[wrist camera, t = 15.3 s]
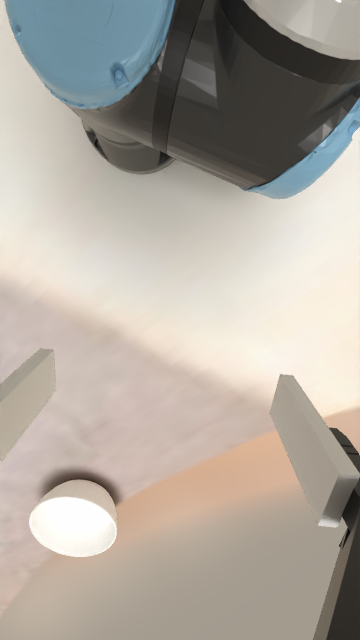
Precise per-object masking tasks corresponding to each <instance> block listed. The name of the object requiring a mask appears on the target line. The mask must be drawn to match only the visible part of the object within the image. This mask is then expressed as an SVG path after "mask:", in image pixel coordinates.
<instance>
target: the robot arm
mask: <svg viewBox="0 0 360 640" xmlns="http://www.w3.org/2000/svg"><path fill="white" fill-rule="evenodd" d="M5 6H6V11H7V15H8V19H9V22H10V26H11V29H12V32H13V33H14V36H15V39H16V41H17V43H18V45H19V47H20V49H21V51H22V53H23V55H24V56H25V58H26V60H27V61H28V63H29V64H30V66H31V67H32V68H33V70H34V71H35V72H36V74H37V75H38V76H39V78H40V80H41V81H42V82H43V83H44V84H45V86H46V88H47V89H48V90H50V91H51V93H52V94H53V95H54V96H55V97H57V98H59V99H60V100H61V101H62V102H63V103H65V104H66V105H67V106H68V107H69V108H71V109H72V110H73V111H74V112H75V113H76V114H77V115H78V116H79V117H80V118H81V120H82V123H83V126H84V129H85V131H86V134H87V136H88V138H89V140H90V141H91V143H92V145H93V146H94V147H95V149H96V150H97V151H98V152H99V153H100V155H101V156H102V157H104V158H105V159H106V160H107V161H108V162H110V163H111V164H112V165H114V166H115V167H117V168H119V169H121V170H123V171H126V172H129V173H134V174H149V173H153V172H156V171H159V170H161V169H163V168H165V167H167V166H168V165H169V164H171V163H172V162H173V161H174V160H175V159H178V160H180V161H183V162H185V163H187V164H190V165H192V166H194V167H196V168H199V169H201V170H203V171H205V172H208V173H210V174H212V175H215V176H217V177H219V178H221V179H224V180H226V181H228V182H230V183H233V184H235V185H237V186H239V187H240V188H241V189H243V190H244V191H248V192H256V193H259V194H262V195H264V196H267V197H270V198H273V199H284V198H288V197H291V196H294V195H296V194H298V193H300V192H301V191H303V190H304V189H306V188H307V187H309V186H310V185H311V184H312V183H314V182H315V181H316V180H317V179H318V178H319V177H320V176H322V175H323V174H324V173H325V172H326V171H327V170H328V169H329V168H330V167H331V166H332V164H333V163H334V162H335V161H336V160H337V159H338V158H339V157H340V155H341V154H342V153H343V152H344V150H345V149H346V148H347V147H348V145H349V144H350V142H351V141H352V135H353V133H354V132H355V131H356V130H357V129H358V128H359V127H360V0H5ZM55 391H56V379H55V361H54V350H50V349H41V348H40V349H39V350H38V351H37V352H36V353H35V354H34V355H33V356H31V357H30V358H29V359H28V360H27V361H26V362H25V363H23V364H22V365H21V366H20V367H19V368H18V369H17V370H16V371H14V372H13V373H12V374H11V375H10V376H9V377H8V378H6V379H5V380H4V381H3V382H2V383H1V384H0V463H1V462H2V461H3V459H4V458H5V457H6V455H7V454H8V453H9V452H10V450H11V449H12V448H13V446H14V445H15V444H16V442H17V441H18V440H19V438H20V437H21V436H22V435H23V433H24V432H25V431H26V429H27V428H28V427H29V425H30V424H31V423H32V421H33V420H34V419H35V418H36V416H37V415H38V414H39V412H40V411H41V410H42V408H43V407H44V406H45V404H46V403H47V402H48V401H49V399H50V398H51V397H52V395H53V394H54V393H55ZM270 415H271V417H272V420H273V422H274V424H275V427H276V429H277V431H278V434H279V436H280V438H281V440H282V443H283V445H284V447H285V450H286V452H287V455H288V457H289V459H290V462H291V464H292V466H293V469H294V471H295V473H296V476H297V478H298V480H299V483H300V485H301V487H302V490H303V492H304V494H305V497H306V499H307V501H308V504H309V506H310V508H311V511H312V513H313V516H314V518H315V520H316V522H317V525H318V526H328V527H338V525H339V522H340V520H341V518H342V517H343V519H344V521H345V523H346V525H347V526H348V528H347V530H346V532H345V535H344V536H343V539H342V541H341V543H340V545H339V547H341V548H340V552H339V555H338V558H337V562H336V565H335V568H334V572H333V575H332V578H331V582H330V585H329V588H328V592H327V595H326V598H325V602H324V605H323V609H322V612H321V615H320V619H319V622H318V625H317V628H316V632H315V635H314V638H313V640H360V455H359V453H358V452H357V450H356V449H355V448H354V447H353V445H352V443H351V442H350V441H349V440H348V438H347V437H346V436H345V435H344V434H343V433H342V432H340V431H339V430H338V429H337V428H328V426H327V425H326V423H325V422H324V421H323V419H322V417H321V416H320V414H319V413H318V411H317V410H316V409H315V407H314V406H313V404H312V403H311V401H310V400H309V398H308V397H307V395H306V394H305V392H304V391H303V389H302V388H301V386H300V385H299V384H298V382H297V381H296V379H295V378H294V376H292V375H283V374H280V376H279V380H278V384H277V388H276V391H275V395H274V399H273V402H272V406H271V410H270Z"/></svg>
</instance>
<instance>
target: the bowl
mask: <svg viewBox="0 0 360 640" xmlns="http://www.w3.org/2000/svg"><path fill="white" fill-rule="evenodd" d="M117 520H118V518H117V512H116V509H115V504H114V502H113V500H112V498H111V496H110V495H109V493H108V492H107V491H106V490H105V489H104V488H103V487H101V486H100V485H98V484H96V483H94V482H91V481H87V480H71V481H67V482H65V483H62V484H60V485H58V486H56V487H55V488H53V489H52V490H51V491H49V492H48V493H47V494H45V495H44V496H43V498H42V499H41V500H40V501H39V503H38V504H37V505H36V507H35V508H34V509H33V511H32V513H31V515H30V519H29V525H30V529H31V531H32V533H33V535H34V537H35V538H36V539H37V540H38V541H39V542H40V543H41V544H42V545H44V546H45V547H47V548H48V549H50V550H52V551H55V552H57V553H60V554H63V555H68V556H75V557H85V556H92V555H96V554H99V553H101V552H103V551H105V550H107V549H108V548H109V547H110V546H111V545H112V544H113V542H114V540H115V539H116V535H117V522H118V521H117Z"/></svg>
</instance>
